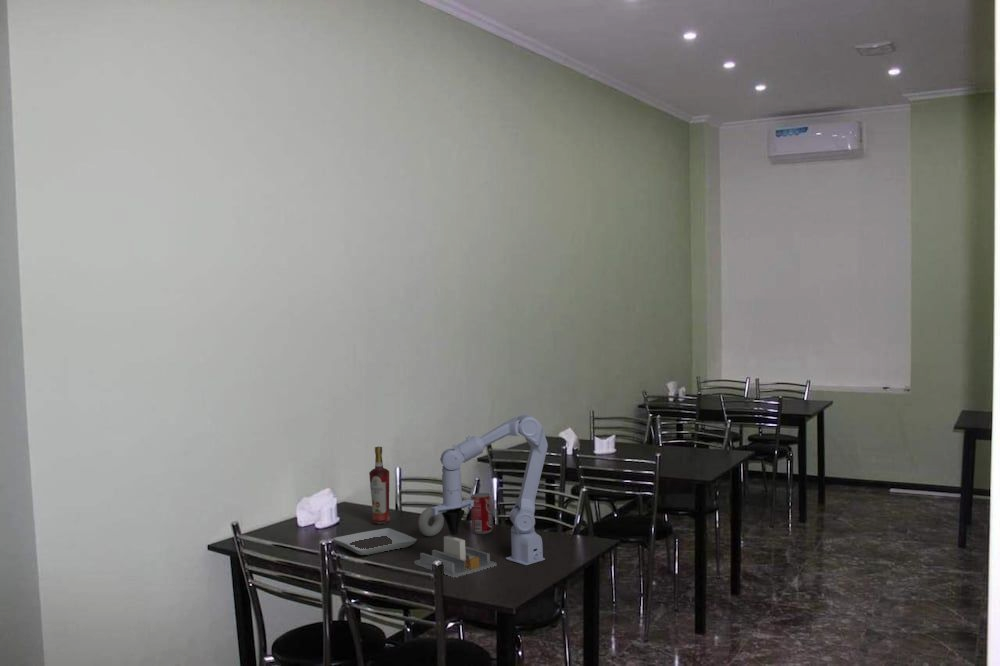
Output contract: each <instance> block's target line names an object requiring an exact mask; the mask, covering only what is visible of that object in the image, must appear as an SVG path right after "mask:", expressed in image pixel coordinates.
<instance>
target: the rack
mask: <svg viewBox="0 0 1000 666" xmlns="http://www.w3.org/2000/svg"><path fill="white" fill-rule="evenodd" d="M465 553H466V560H465V559H462V558H459V557H456V556H452V555H449V554H446V553H444V546H443V551H440V550H436V549H433V550H431V555H430V554H428V553H425V552H420V553H419V558H420V559H417V560H414V561H413V563H414V565H415V566H419V567H421V568H424V569H427V570H429V569H430V570H429V571H432V563H433V562H434V561H435V560H440V561H442V562H443V565H444V574H445V575H444V576H446V575H448V576H447V577H449V576H451V577H450V578H452V577H453V578H452V579H455V578H454V577H456V578H459V576H460V577H463V576H466V574H467V575H470V574H473V572H474V573H477V572H480V570H481V571H484V570H487V568H488V569H490V567H491V568H495V567H497V562H496V561H492V560H491V559H490V558H491V557H490V553H489V552H485V551H482V550H479V549H476V548H472V547H469V546H466V545H465ZM494 566H495V567H494ZM483 569H484V570H483ZM462 575H463V576H462Z"/></svg>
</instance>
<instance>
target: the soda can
mask: <svg viewBox="0 0 1000 666" xmlns="http://www.w3.org/2000/svg"><path fill="white" fill-rule="evenodd" d="M470 500H474V507H470V510H471V511H470V512H471V529H472V530H471V531H472V532H473V534H474V535H485V534H486V535H487V534H490V533H491V532H492V531H493V510H492V507H493V506H492V498H491V496H490V493H486V492H479V493H473V494H472V495H471V498H470Z"/></svg>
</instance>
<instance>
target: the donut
mask: <svg viewBox="0 0 1000 666" xmlns="http://www.w3.org/2000/svg"><path fill="white" fill-rule="evenodd" d="M432 507H433V506H429V507H426V508H425V509H424V510H423V511H422V512H421V513H420V515H419V518H418V521H417V522H418V523H417V524H418V529H419V531H420V533H421V534H422V535H424V536H425V537H426V536H427V537H434V536H436V535H438V534H439V533H440V532H441V530H442V529H443V527H444V524H445V522H444V521H445V518H444V516H443V515H442V513H439V514H437V515H434V514H432V513H431V508H432ZM431 518H433V523H432V525H429V521H430V519H431Z"/></svg>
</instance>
